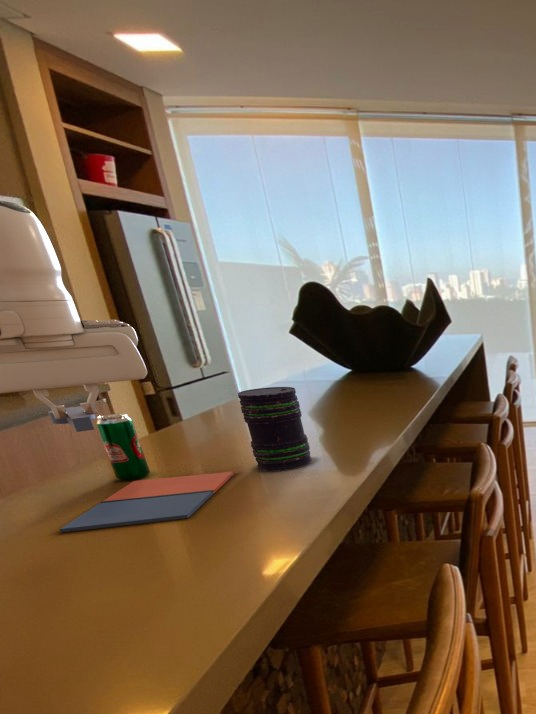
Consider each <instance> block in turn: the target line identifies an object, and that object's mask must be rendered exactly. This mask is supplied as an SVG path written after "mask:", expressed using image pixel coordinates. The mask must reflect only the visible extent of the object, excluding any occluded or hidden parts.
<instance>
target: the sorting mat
mask: <svg viewBox="0 0 536 714" xmlns="http://www.w3.org/2000/svg"><path fill="white" fill-rule="evenodd" d="M233 476H235V471H225V472H215V473H205V474H193V475H183V476H173V477H162V478H150V479H139V480H132V481H131V482H130V483H129V484H127V485H125V486H124V487H123V488H121V489H120V490H118V491H116V492H115V493H113V494H112V495H110V496H108V497H107V498H105V499H103V500H102V501H100V502H99V503H98V504H96V505H95V506H93V507H91V508H90V509H88V510H87V511H86V512H83V513H82V514H81V515H79V516H78V517H76V518H75V519H73V520H71V521H70V522H69V523H67V524H65V525H64V526H61V528H59V531H60V533H61V534H63V533H70V532H71V533H72V532H79V531H87V530H97V529H106V528H115V527H123V526H132V525H140V524H142V525H143V524H148V523H158V522H167V521H176V520H184V519H189V518H190V517H191V516H192V515H194V514H195V512H196V511H198V510H199V509H200V508H201V506H203V505H204V504H205V503H206V502H207V501H208V500H209V499H210V498H211V497H212V496H213V495H214V494H216V492H218V491H219V490H220V489H221V488H222V487H223V486H224V485H225V484H226V483H227V482H228V481H229V480H230V479H231V478H233Z"/></svg>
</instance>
